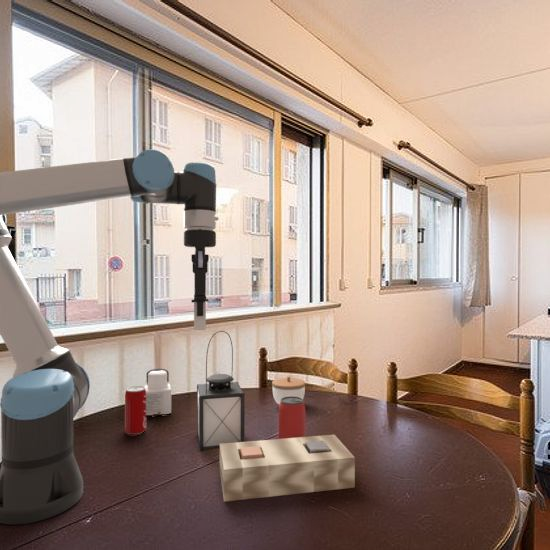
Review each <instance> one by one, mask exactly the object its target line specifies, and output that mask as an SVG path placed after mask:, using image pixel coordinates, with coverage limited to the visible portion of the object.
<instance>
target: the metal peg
mask: <svg viewBox="0 0 550 550" xmlns="http://www.w3.org/2000/svg"><path fill="white" fill-rule="evenodd" d="M305 448H306V450H307V452H308V453H309V454H310V453H321V452H329V447H328V446H327V445H326V444H325V442H324V441H312V442H305Z"/></svg>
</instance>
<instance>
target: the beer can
mask: <svg viewBox="0 0 550 550" xmlns="http://www.w3.org/2000/svg"><path fill="white" fill-rule="evenodd" d="M297 437H306V406H305V401H304V398H303V399H302V398H300V397H294V396H289V397H284V398H282V399H281V402H280V405H279V406H278V439H285V438H297Z"/></svg>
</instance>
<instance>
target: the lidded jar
mask: <svg viewBox="0 0 550 550" xmlns="http://www.w3.org/2000/svg"><path fill="white" fill-rule="evenodd" d="M271 384H272V385H271V386H272V387H271V388H272V396H273V400H274V401H275V402H276V404H277V405H280V402H281V399H282V398H284V397H289V396H294V397H300V398H302V399H303V400H304V398H305V394H306V393H305V392H306V391H305V390H306V382H305V381H304V379H301V378H298V377H297V378H295V377H291V376H287V377H281V378H276V379H273V380H272V381H271Z"/></svg>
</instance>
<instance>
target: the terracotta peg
mask: <svg viewBox="0 0 550 550" xmlns="http://www.w3.org/2000/svg"><path fill="white" fill-rule="evenodd" d="M254 458H263V454H262V452H261V449H260V446H252V447H240V460H242V459H254Z"/></svg>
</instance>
